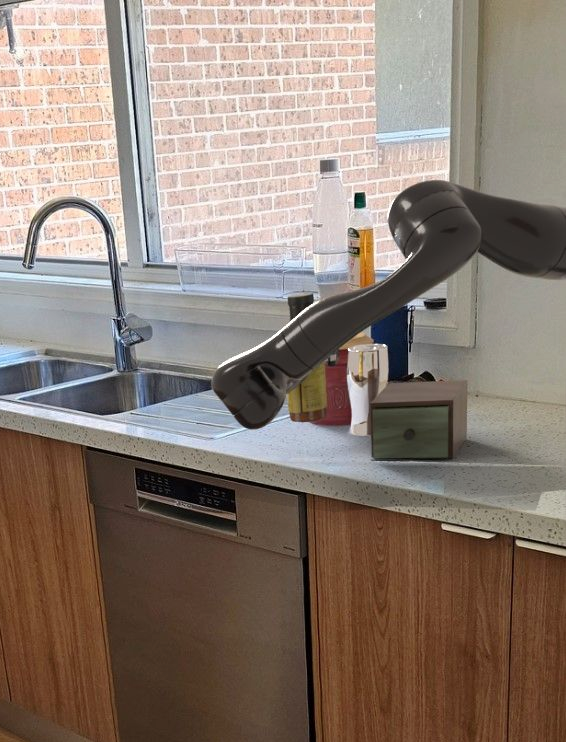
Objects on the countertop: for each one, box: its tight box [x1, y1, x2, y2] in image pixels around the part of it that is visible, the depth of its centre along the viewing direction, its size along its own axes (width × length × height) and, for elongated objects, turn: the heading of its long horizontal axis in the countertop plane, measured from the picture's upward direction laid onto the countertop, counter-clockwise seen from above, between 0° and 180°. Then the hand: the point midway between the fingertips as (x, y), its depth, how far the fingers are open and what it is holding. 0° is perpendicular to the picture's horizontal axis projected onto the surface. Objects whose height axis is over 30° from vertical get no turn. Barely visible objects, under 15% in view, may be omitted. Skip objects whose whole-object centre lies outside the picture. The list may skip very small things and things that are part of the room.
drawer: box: [373, 405, 449, 460], centre depth 196 cm, size 15×11×8 cm
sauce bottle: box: [286, 292, 327, 423], centre depth 196 cm, size 6×6×20 cm
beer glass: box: [346, 343, 389, 437], centre depth 210 cm, size 7×7×15 cm
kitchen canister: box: [309, 332, 375, 427], centre depth 222 cm, size 13×13×18 cm
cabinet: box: [370, 379, 468, 462], centre depth 198 cm, size 15×13×10 cm
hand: (307, 348), depth 197 cm, fingers closed on sauce bottle, 6 cm apart
